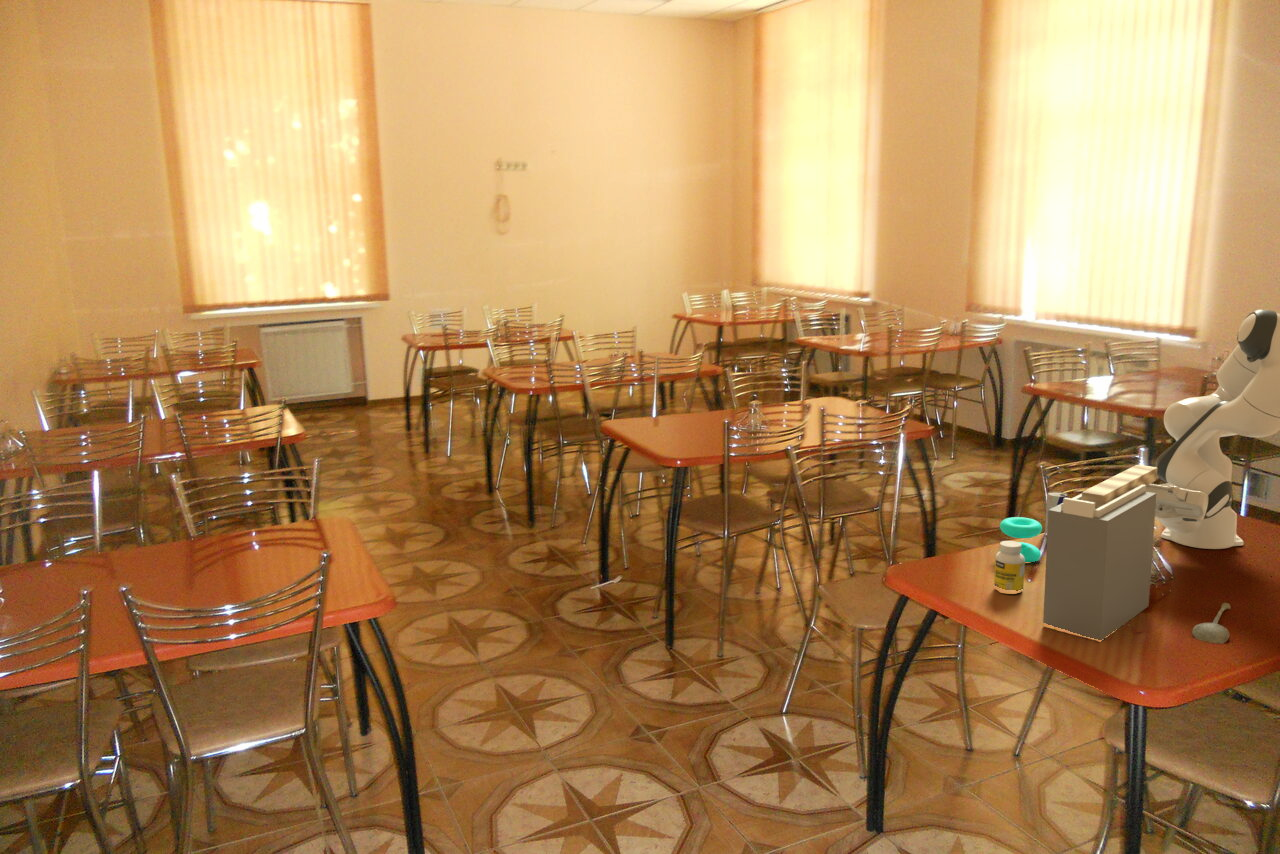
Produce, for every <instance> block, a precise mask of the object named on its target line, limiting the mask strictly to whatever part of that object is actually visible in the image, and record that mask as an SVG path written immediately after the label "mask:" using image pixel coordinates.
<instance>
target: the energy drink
mask: <svg viewBox="0 0 1280 854" xmlns="http://www.w3.org/2000/svg"><path fill="white" fill-rule="evenodd" d="M1064 498H1069V496H1068V493H1066V492H1064V491H1049V492H1047V495H1046V504H1045V505H1046V506H1045V508H1046V509H1045V525H1044V526H1045V528H1044V529H1045V530H1044V534H1045V533H1047V530H1048V510H1049V509H1051V508H1053V507H1055V506H1057V505H1059V504H1061V503H1063V499H1064Z"/></svg>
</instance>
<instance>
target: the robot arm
mask: <svg viewBox="0 0 1280 854" xmlns="http://www.w3.org/2000/svg"><path fill="white" fill-rule="evenodd" d="M1236 336H1237V337H1236V340H1237V343H1238V344H1237V345H1236V346H1235V348H1233V350H1232V352H1231V353H1230V354H1229V355H1228V357H1227V358H1226V359H1225V360H1224V362H1223V363H1222V364H1221V366H1220V367H1219V369H1218V370H1217V371H1216V375H1215V376H1216V381H1217V384H1218V387H1217V389H1216V390H1215V391H1214V392H1212V393H1211V394H1209V395H1204V396H1194V397H1187V398H1184V399H1181V400H1179V401H1178V400H1177V401H1176V402H1173V403H1171V404H1170V405H1169V406H1168V407H1167V408H1166V410H1165V411H1164V414H1163V424H1164V428H1165V430H1166V432H1167V433H1168V435H1170V436H1171V437H1172V438H1173V439H1174V440H1175V442H1174V443H1173V444H1172V445H1170V446H1169V447H1167V448H1166V449H1165V450H1164V451H1163V452H1162V453H1161V454H1160V455H1158V457H1157V458H1156V461H1155V467H1157V478H1158V479H1160V480H1162V481H1163V482H1164V483H1162V484H1161V483H1160V484H1154V483H1151V484H1149V485H1147V486H1146V492H1151V493H1156V506H1155V519H1156V520H1157V521H1158V522H1159V523H1160V524H1161V525H1162V526H1163V527H1165V528H1164V529H1163V531H1162V532H1161V534H1160V535H1161V538H1162V539H1164V540H1169V541H1172V542H1175V543H1176V544H1180V545H1183V546H1185V547H1187V546H1188V547H1191V548H1197V549H1205V550H1207V549H1208V550H1221V549H1222V550H1223V549H1228V548H1232V547H1239V546H1244V540H1243V539H1242V538H1241V537H1239V535H1238V534H1237V525H1238V524H1237V523H1238V522H1237V521H1238V519H1237V518H1238V514H1237V513H1236V512H1235V510H1233V509H1232V500H1233V486H1232V475H1233V474H1232V473H1233V462H1232V460H1231V459H1230V457H1229V456H1227V455H1225V454H1224V453H1223V452H1222V449H1221V445H1220V439H1221V438H1222V437H1230V436H1237V435H1239V436H1242V437H1249V438H1265V437H1269V436H1273V435H1274V434H1277V433H1278V432H1279V431H1280V313H1278V312H1276V311H1275V310H1271V309H1256V310H1254V311H1252V312H1251V313H1250V312H1249V314H1248V315H1247V316H1246V317H1245V319H1244V320H1243V321H1242V322H1241V324H1240V326H1239V328H1238V332H1237V335H1236Z"/></svg>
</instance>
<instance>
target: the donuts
mask: <svg viewBox="0 0 1280 854" xmlns="http://www.w3.org/2000/svg"><path fill="white" fill-rule="evenodd" d="M999 528H1000V530H1001V532H1002V533H1003V534H1005V535H1006V536H1008V537H1011V538H1015V539H1032V538H1035V537H1037V536H1039V535H1040V534H1041V532H1042V531H1043V526H1042V524H1041V522H1039V521H1038V520H1037V519H1036V520H1035V519H1034V518H1028V517H1022V516H1019V517H1018V516H1014V517H1013V516H1012V517H1007V518H1004V519H1003V520H1001V522H1000V524H999ZM1018 542H1019V543H1021V551H1020V553H1021V554H1022V555H1023V556H1024V558H1025V562H1034V563H1036V562H1038V561H1039V560H1040V559H1041V556H1042V553H1041V550H1040V549H1039V548H1038V547H1037V546H1035V545H1034V544H1031V543H1028V542H1021V541H1018ZM1000 551H1001V549H1000V548H999V551H998V552H1000ZM1035 561H1036V562H1035Z"/></svg>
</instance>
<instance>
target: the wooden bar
mask: <svg viewBox="0 0 1280 854" xmlns="http://www.w3.org/2000/svg"><path fill="white" fill-rule="evenodd" d="M1157 478H1158V476H1157V467H1156V466H1149V465H1143V464H1142V465H1141V464H1136V465H1134V466H1132V467H1129V468H1127V469H1125V470H1124V471H1122V472H1119V473H1117V474H1116V475H1113V476H1111V477H1110V478H1108V479H1105V480H1104V481H1102V482H1101V481H1100V482H1099V483H1098V484H1095V485H1093V486H1092V487H1089V488H1087V489H1085V490H1083V491H1082V492H1081V493H1082V500H1083V501H1089V502H1095V508H1099V507H1101V506H1103V505H1105V504H1107V503H1109V502H1110V501H1112V500H1114V499H1116V498H1118V497H1120V496H1122V495H1123V494H1125V493H1127V492H1129V491H1131V490H1133V489H1135V488H1136V487H1138V486H1140V485H1142V484H1143V485H1146V486H1147V485H1149V484H1153V483H1155V482H1156V481H1157Z"/></svg>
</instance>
